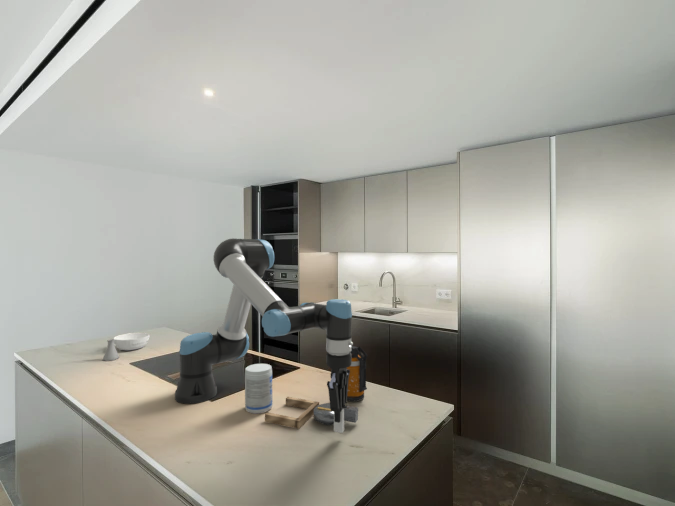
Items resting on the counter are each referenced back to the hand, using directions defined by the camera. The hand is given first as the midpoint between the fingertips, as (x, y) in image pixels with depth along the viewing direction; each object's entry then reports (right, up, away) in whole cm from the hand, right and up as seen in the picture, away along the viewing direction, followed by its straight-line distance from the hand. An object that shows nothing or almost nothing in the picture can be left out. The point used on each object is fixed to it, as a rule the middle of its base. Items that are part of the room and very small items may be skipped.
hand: (338, 430), depth 104 cm
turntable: (-1, -1, +11) cm, 11 cm away
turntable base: (-3, -2, +12) cm, 12 cm away
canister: (+6, -3, +29) cm, 29 cm away
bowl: (-119, -2, +98) cm, 154 cm away
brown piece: (-16, -2, +15) cm, 23 cm away
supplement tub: (-28, -3, +20) cm, 35 cm away
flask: (-118, -2, +78) cm, 142 cm away
